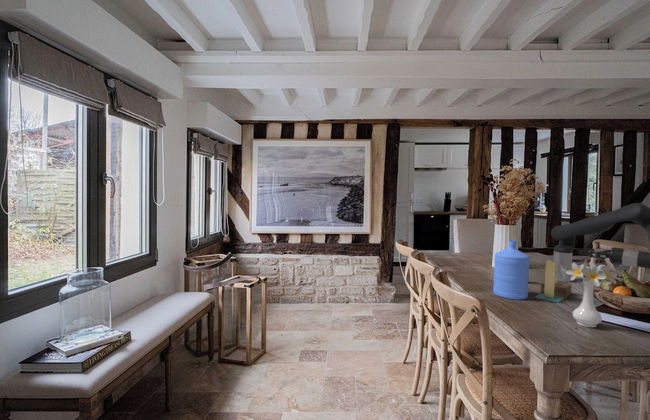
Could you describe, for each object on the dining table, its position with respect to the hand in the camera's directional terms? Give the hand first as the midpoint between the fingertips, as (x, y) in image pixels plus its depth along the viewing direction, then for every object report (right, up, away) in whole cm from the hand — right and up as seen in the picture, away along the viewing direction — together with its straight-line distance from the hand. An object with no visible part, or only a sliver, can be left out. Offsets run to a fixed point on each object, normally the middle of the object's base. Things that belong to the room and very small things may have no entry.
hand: (581, 250), depth 168 cm
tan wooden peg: (-13, -23, +3) cm, 27 cm away
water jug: (-31, -24, +7) cm, 40 cm away
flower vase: (-22, -26, -31) cm, 46 cm away
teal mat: (-13, -24, +3) cm, 28 cm away
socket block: (-5, -24, +11) cm, 27 cm away
